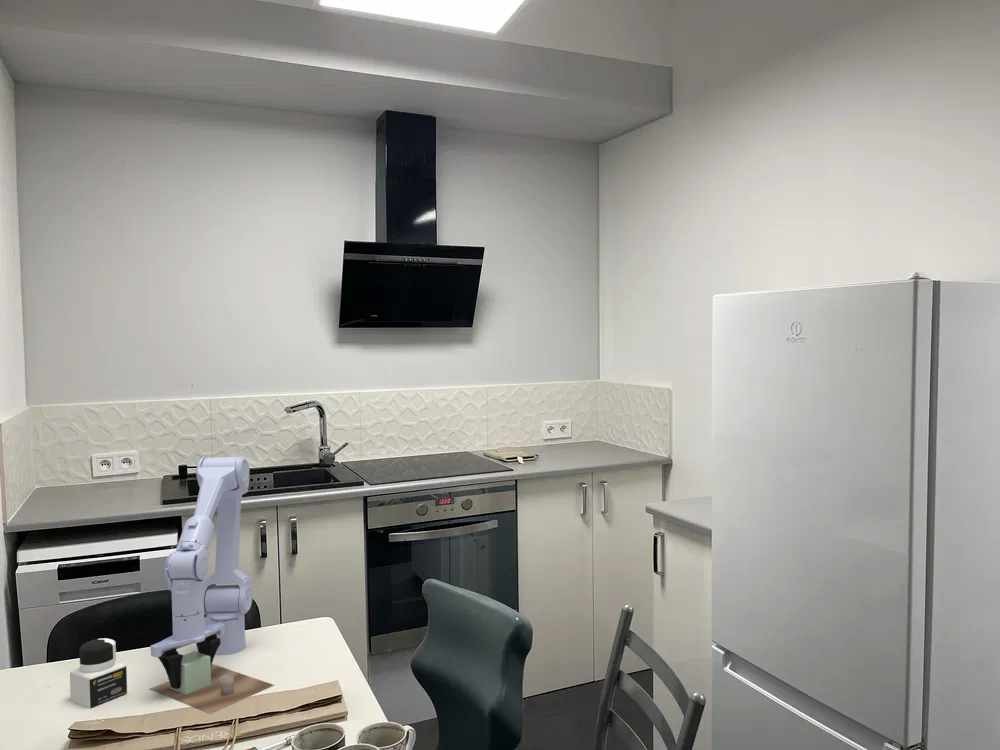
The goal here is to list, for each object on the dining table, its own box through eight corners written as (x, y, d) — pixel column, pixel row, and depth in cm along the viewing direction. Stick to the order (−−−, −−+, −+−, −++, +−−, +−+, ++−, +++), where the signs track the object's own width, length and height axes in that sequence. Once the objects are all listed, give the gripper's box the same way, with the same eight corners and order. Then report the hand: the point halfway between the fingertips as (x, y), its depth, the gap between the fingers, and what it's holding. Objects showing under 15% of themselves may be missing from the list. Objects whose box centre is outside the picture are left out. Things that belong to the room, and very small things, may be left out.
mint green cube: (169, 688, 142) (168, 660, 142) (195, 678, 146) (194, 650, 146) (185, 694, 139) (184, 665, 139) (211, 684, 143) (210, 656, 143)
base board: (149, 696, 142) (148, 673, 142) (213, 671, 153) (212, 649, 153) (210, 722, 130) (209, 697, 130) (274, 692, 142) (274, 669, 142)
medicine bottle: (90, 716, 134) (88, 651, 134) (70, 708, 138) (68, 644, 138) (128, 701, 140) (126, 638, 140) (107, 693, 144) (105, 632, 144)
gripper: (164, 626, 134) (166, 700, 134) (233, 605, 146) (235, 672, 146) (143, 620, 138) (145, 691, 138) (212, 599, 150) (214, 665, 150)
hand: (190, 681), depth 143 cm, fingers open, 6 cm apart
